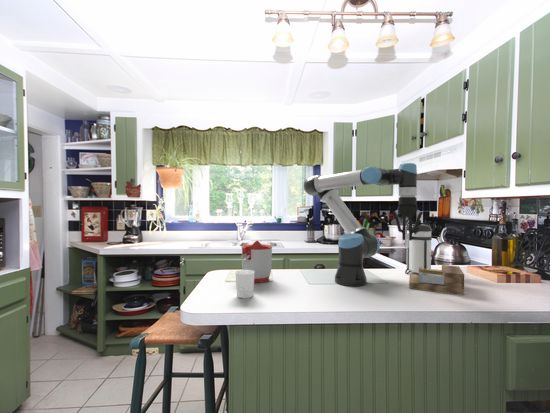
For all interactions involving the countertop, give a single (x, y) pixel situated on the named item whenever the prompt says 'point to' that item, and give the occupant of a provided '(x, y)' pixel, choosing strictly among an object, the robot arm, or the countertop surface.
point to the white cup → (245, 283)
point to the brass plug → (431, 271)
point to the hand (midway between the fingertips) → (407, 247)
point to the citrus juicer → (257, 260)
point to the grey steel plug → (431, 278)
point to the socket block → (452, 281)
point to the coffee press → (419, 248)
